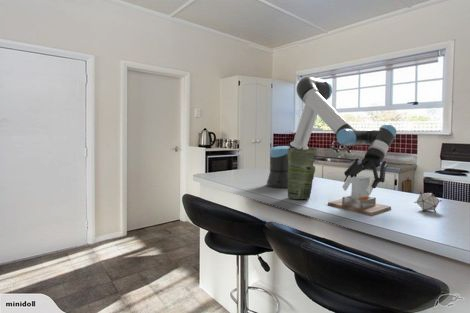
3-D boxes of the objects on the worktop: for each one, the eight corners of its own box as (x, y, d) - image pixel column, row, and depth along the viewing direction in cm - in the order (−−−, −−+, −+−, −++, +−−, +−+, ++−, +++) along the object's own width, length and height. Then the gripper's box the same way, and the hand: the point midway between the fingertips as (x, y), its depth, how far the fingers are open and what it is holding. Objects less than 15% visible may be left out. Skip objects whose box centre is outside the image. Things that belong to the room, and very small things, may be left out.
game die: (426, 218, 123) (434, 198, 125) (441, 217, 115) (449, 195, 117) (407, 207, 124) (415, 187, 126) (420, 205, 116) (429, 184, 118)
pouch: (283, 196, 145) (284, 146, 143) (303, 194, 149) (305, 146, 147) (295, 201, 135) (297, 148, 132) (317, 199, 139) (319, 147, 137)
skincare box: (357, 206, 123) (358, 178, 122) (350, 203, 127) (351, 176, 126) (368, 204, 125) (370, 177, 124) (361, 202, 129) (362, 176, 128)
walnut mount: (327, 204, 129) (328, 195, 129) (348, 199, 139) (348, 191, 138) (371, 215, 113) (371, 205, 113) (391, 209, 123) (391, 199, 122)
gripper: (405, 160, 124) (385, 201, 116) (356, 156, 142) (335, 191, 135) (400, 148, 121) (379, 190, 113) (350, 145, 139) (329, 181, 131)
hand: (355, 190), depth 124 cm, fingers open, 10 cm apart
